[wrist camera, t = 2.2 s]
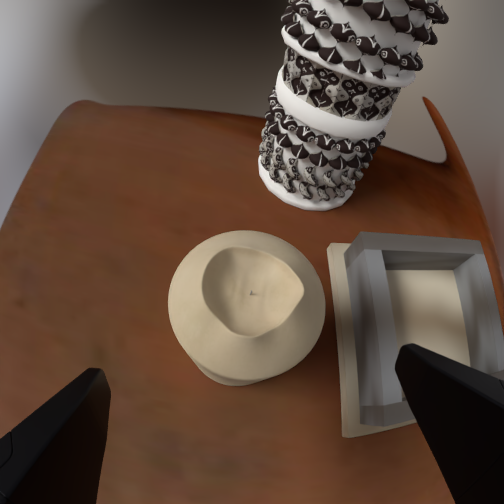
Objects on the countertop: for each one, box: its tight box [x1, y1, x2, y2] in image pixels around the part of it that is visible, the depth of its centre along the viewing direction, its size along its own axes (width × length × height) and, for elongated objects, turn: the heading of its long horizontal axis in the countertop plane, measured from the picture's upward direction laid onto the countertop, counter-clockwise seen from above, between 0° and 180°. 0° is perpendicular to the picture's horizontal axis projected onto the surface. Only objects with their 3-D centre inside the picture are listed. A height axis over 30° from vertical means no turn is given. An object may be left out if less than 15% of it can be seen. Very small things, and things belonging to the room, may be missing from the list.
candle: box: [168, 230, 325, 386], centre depth 13 cm, size 6×6×10 cm
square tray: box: [327, 232, 504, 438], centre depth 17 cm, size 13×13×4 cm
